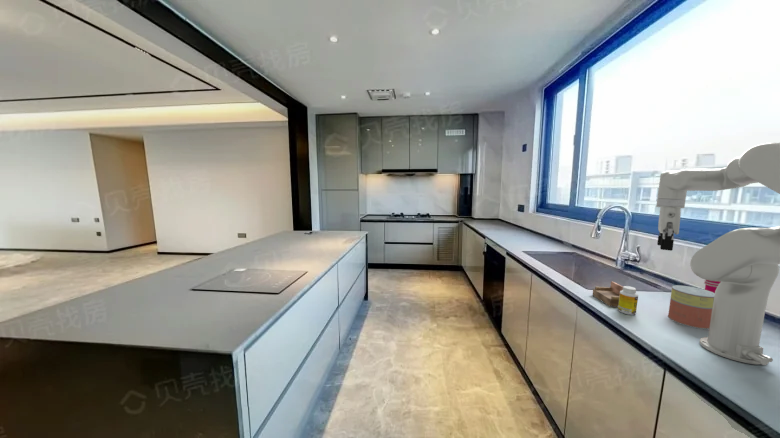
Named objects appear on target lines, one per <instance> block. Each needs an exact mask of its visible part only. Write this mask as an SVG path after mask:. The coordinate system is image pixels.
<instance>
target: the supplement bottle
mask: <svg viewBox="0 0 780 438" xmlns="http://www.w3.org/2000/svg"><path fill="white" fill-rule="evenodd" d="M622 286H623V285H622ZM638 301H639V294H638V293H637V289H636V287H634V286H629V285H626V286H625V285H624V286H623V290H622V291H620V294H619V303H618V307H617V311H619V313H622V314H625V315H630V316H633V315H636V314H637V311H638V310H637V308H638Z"/></svg>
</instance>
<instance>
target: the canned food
mask: <svg viewBox="0 0 780 438" xmlns="http://www.w3.org/2000/svg"><path fill="white" fill-rule="evenodd" d="M670 292H671V293H670V300H669V307H668V313H667V318H668V319H670V321H672V322H675V323H677V324H680V325H682V326H686V327H690V328H695V329H699V330H700V329H701V330H709V327H710V321H711V314H712V308H713V301H714V295H715V293H713V292H711V291H708V290H705V288H701V287H696V286H691V285H690V286H689V285H684V284H683V285H682V284H681V285H680V284H675V285H674V284H673V285H671V291H670Z"/></svg>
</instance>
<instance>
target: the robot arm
mask: <svg viewBox="0 0 780 438" xmlns="http://www.w3.org/2000/svg"><path fill="white" fill-rule="evenodd" d="M659 176H660V177H659V183H658V192H657V198H656V206H655V207H656V208H660V209H659V213H658V214H659V216H658V223H657V224H658V225H657V228H658V229H657V230H658V232H659V233H658V236H657V245H658V246H660V247H659V248H660V250H662V251H669V252H670V251H673V249H674V243H675V239H674V235H679V234H680V225H681V224H680V223H681V214H682V210H681V209H685V205H686V199H687V193H688V192H689V191H690V192H692V191H693V192H695V191H696V192H697V191H698V192H700V191H701V192H703V191H704V192H706V191H707V192H713V191H714V192H715V191H725V190H732V189H738V188H743V187H746V186H748V185H750V184H758V183H759V184H761V185H762V186H764V187H766V188H768V189H770V190H772V191H773V192H775V193H777V194H778V195H780V142H765V143H759V144H757V145H754V146H752V147H750V148H747V150H746V151H744V152H743V153H742V154H741V155H740V156H736V157H734V158H733V159H731V160H730V161H729V162H728V163H727V165H726V167H722V168H685V169H679V170H666V171H663V172H661V173H660V175H659ZM689 264H690V265H689V266H690V269H691V272H692V273H693V274H694V275H696V276H697V277H698V278H700V279H703V280H709V281H719V282H720V284H719V285H718V286H717V288H716V291H715V295H714V301H713V308H712V314H711V321H710V327H709V329H708V334H707V335H708V336H704V337H701V338H699V345H700V346H701V347H703V348H704V349H706V350H707V351H709V352H711V353H713V354H715V355H718V356H720V357H724V358H726V359H728V360H732V361H736V362H739V363H744V364H747V365H748V364H749V365H762V366H767V365H768V364H769V363H772V362H773V361H774V359H773V357H771V356H768V355H767V354H765V353H763V352H764V347H763V346H760V343H761V336H762V331H763V325H764V321H765V320H764V319H765V314H766V310H767V305H768V300H769V295H770V293H771V289H772V287H773V286H774V284H775V282H776V280H777V278H778V276H779V271H780V267H779V266H780V225H778V226H772V227H743V228H742V227H741V228H737V229H733V230H730V231H728V232H726V233H723V234H722V235H720V236H719V237H717V238H716V239H714V240H713V241H711V242H710V243H708V244H707V245H705V246H703V247H702V248H700V249H699V250H697V251H696V252H695V253H694V254H693V255H692V257H691V259H690V263H689Z"/></svg>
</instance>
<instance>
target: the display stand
mask: <svg viewBox="0 0 780 438" xmlns="http://www.w3.org/2000/svg"><path fill="white" fill-rule="evenodd" d="M622 290H623V285H621V284H619V283H617V282H615V281H610V287H609V286H595V287H594V288H593V290H592V296H593V297H594V298H596V299H598V300H599V301H601V302H602V301H603V303H604V304H606V305H608V306H609V307H614V308H615V307H616V308H618V303H619V294H620V291H622Z"/></svg>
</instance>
